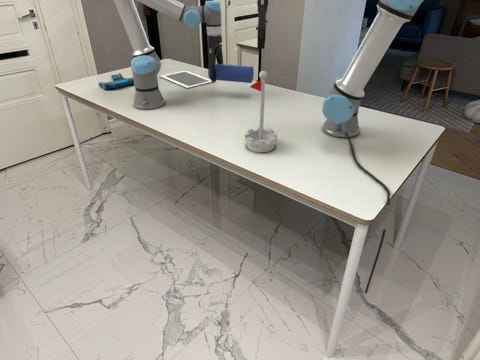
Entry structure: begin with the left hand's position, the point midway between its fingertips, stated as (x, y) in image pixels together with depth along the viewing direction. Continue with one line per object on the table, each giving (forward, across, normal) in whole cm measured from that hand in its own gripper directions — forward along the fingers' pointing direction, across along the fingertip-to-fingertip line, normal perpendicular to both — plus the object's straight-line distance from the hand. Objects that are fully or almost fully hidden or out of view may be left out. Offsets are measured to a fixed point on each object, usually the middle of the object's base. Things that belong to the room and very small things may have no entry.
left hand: (216, 78), depth 186 cm
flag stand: (+9, +54, +40) cm, 68 cm away
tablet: (+8, -20, -29) cm, 36 cm away
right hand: (-27, +38, +35) cm, 58 cm away
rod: (0, 0, +8) cm, 8 cm away
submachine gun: (+8, -4, -62) cm, 62 cm away
